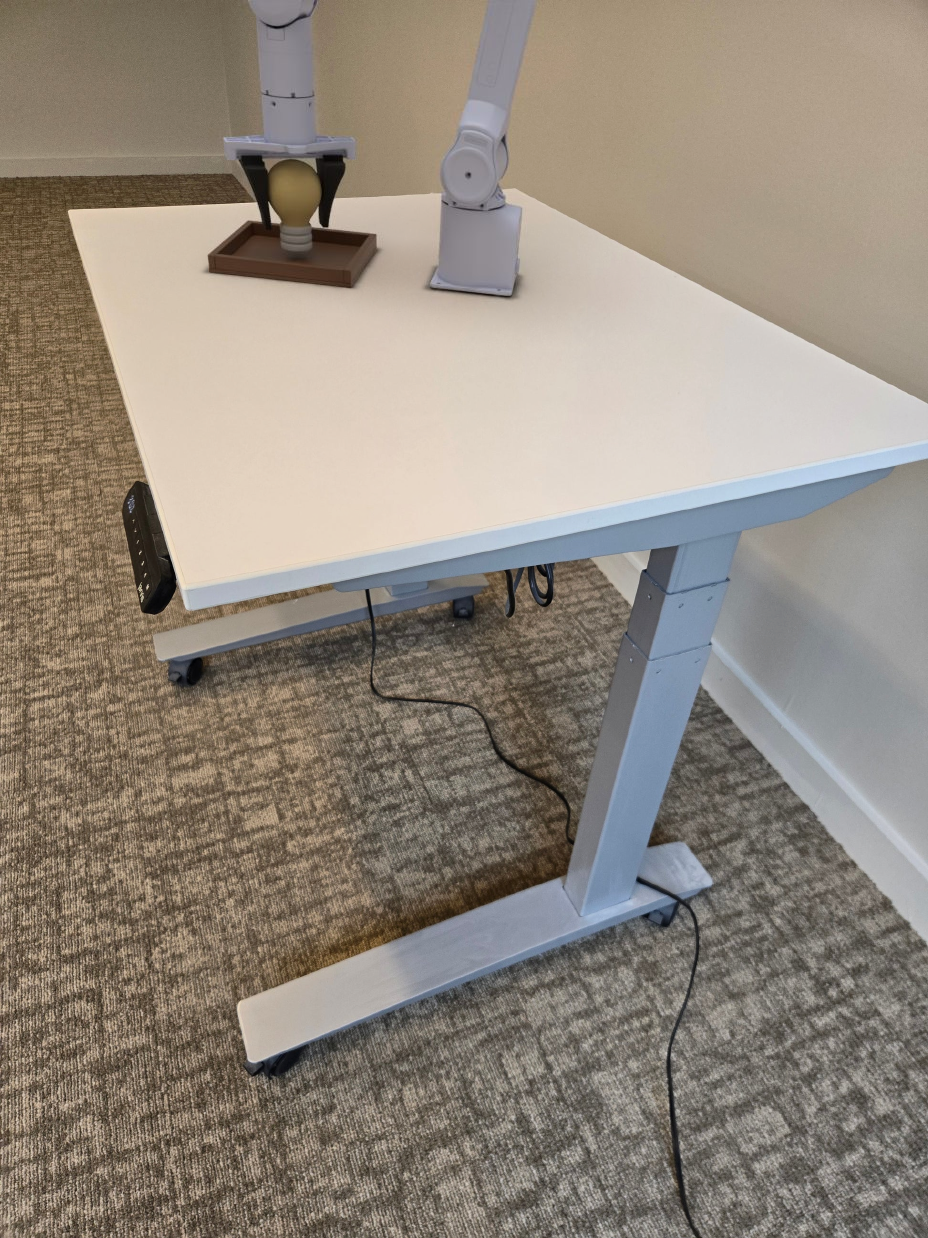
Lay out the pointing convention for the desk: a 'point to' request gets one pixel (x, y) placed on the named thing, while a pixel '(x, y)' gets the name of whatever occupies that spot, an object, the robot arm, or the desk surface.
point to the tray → (294, 255)
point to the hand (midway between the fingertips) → (295, 226)
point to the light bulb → (294, 202)
